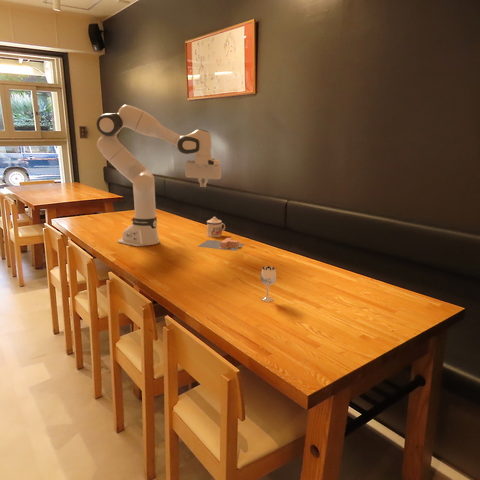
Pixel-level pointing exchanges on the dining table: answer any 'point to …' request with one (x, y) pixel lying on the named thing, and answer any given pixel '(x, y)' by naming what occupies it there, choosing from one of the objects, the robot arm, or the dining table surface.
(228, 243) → the t block
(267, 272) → the wineglass
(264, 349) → the dining table surface
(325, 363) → the dining table surface
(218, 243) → the t mat
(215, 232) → the teacup with lid
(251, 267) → the dining table surface
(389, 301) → the dining table surface
